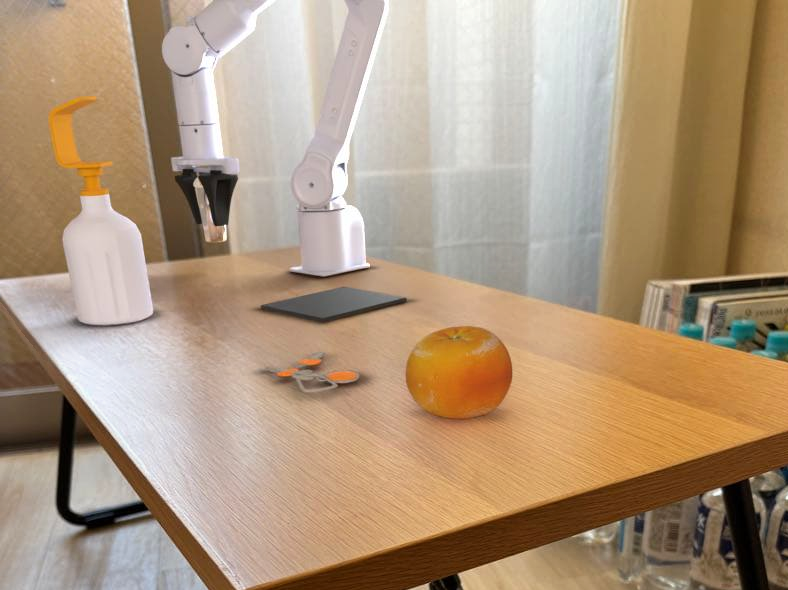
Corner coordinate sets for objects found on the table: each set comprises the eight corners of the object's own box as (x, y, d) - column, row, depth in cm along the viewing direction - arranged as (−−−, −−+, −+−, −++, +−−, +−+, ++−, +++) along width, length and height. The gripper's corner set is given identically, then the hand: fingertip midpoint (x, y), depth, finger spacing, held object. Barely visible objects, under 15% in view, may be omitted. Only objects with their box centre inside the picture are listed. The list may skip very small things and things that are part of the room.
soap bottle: (133, 327, 106) (93, 96, 95) (64, 326, 108) (17, 99, 97) (166, 310, 114) (133, 94, 103) (100, 309, 116) (61, 97, 104)
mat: (344, 290, 121) (343, 286, 121) (406, 301, 113) (406, 297, 113) (260, 309, 112) (260, 304, 112) (322, 322, 105) (322, 318, 104)
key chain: (372, 386, 81) (371, 376, 81) (294, 398, 79) (294, 389, 78) (326, 353, 92) (325, 345, 91) (256, 363, 89) (256, 355, 89)
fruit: (371, 370, 74) (424, 290, 70) (438, 384, 80) (491, 311, 76) (424, 439, 70) (483, 358, 66) (490, 448, 76) (548, 374, 72)
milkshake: (192, 243, 133) (183, 171, 129) (209, 237, 138) (201, 167, 133) (219, 244, 132) (211, 172, 127) (236, 238, 137) (228, 168, 132)
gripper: (147, 126, 130) (163, 224, 136) (203, 126, 121) (217, 231, 127) (189, 123, 134) (202, 218, 141) (246, 123, 125) (257, 225, 131)
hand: (212, 224), depth 134 cm, fingers closed on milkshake, 4 cm apart
